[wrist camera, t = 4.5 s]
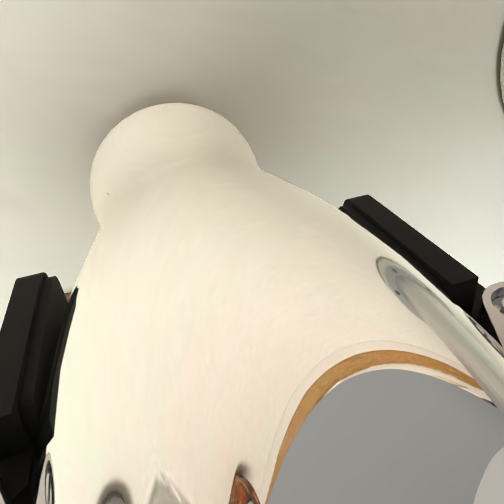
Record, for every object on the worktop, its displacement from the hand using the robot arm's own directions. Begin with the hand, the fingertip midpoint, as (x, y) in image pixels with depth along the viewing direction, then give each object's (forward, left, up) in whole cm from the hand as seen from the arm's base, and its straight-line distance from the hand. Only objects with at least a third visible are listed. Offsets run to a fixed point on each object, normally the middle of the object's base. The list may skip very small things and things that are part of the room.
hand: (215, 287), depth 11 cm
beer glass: (0, 0, -7) cm, 7 cm away
